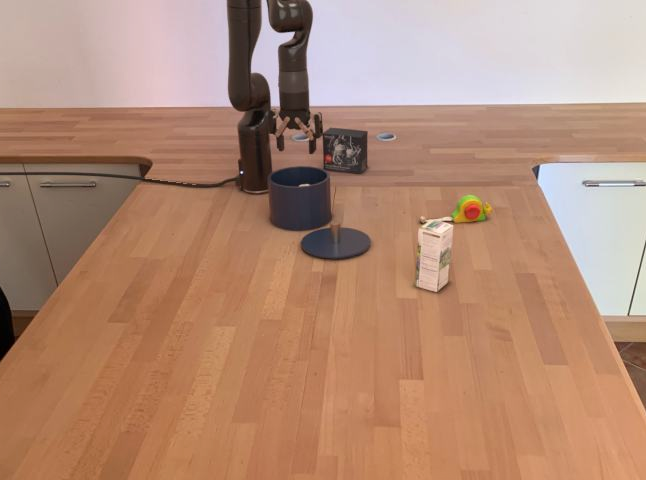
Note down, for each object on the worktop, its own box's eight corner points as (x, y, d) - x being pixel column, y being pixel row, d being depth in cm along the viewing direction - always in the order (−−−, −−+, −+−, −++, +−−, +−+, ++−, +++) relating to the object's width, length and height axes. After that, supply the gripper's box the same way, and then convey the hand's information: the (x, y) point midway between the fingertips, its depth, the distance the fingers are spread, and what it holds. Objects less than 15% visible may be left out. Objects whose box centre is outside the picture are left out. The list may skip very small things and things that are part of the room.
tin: (261, 227, 191) (257, 184, 184) (285, 204, 204) (282, 163, 198) (318, 233, 186) (316, 190, 180) (339, 210, 199) (338, 168, 193)
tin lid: (290, 255, 175) (289, 232, 172) (315, 228, 189) (314, 206, 186) (358, 264, 170) (358, 241, 167) (378, 235, 184) (379, 213, 181)
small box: (322, 170, 228) (321, 133, 221) (330, 163, 233) (329, 127, 227) (361, 174, 224) (360, 136, 217) (368, 167, 229) (368, 130, 222)
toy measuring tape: (494, 222, 189) (496, 199, 185) (422, 227, 188) (423, 203, 184) (488, 213, 194) (490, 190, 191) (417, 217, 193) (418, 194, 190)
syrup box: (426, 276, 164) (429, 218, 156) (449, 283, 161) (453, 223, 153) (414, 286, 160) (417, 227, 152) (437, 293, 157) (441, 233, 149)
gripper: (325, 86, 177) (327, 150, 186) (273, 82, 181) (277, 145, 190) (315, 93, 171) (316, 159, 180) (261, 89, 175) (265, 153, 184)
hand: (296, 151), depth 185 cm, fingers open, 8 cm apart
